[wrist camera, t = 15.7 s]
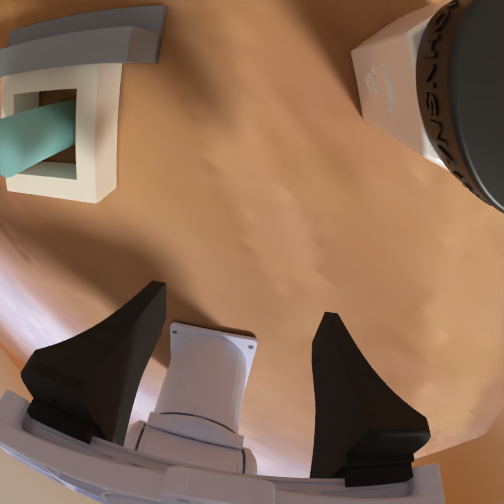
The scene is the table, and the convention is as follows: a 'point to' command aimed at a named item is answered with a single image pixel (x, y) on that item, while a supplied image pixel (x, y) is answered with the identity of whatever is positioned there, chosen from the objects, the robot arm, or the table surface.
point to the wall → (86, 40)
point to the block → (87, 130)
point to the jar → (442, 89)
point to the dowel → (36, 135)
